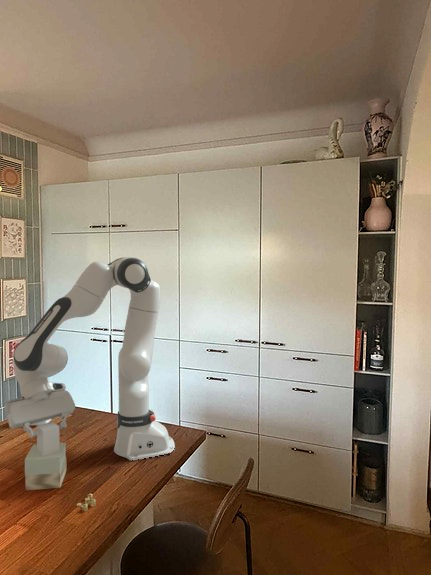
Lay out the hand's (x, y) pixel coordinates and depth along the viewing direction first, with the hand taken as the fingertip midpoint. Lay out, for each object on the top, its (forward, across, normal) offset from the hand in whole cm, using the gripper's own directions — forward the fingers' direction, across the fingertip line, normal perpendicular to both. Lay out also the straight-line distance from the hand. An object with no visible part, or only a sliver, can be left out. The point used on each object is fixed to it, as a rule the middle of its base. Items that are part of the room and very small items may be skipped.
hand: (49, 432), depth 124 cm
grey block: (+4, 0, +5) cm, 6 cm away
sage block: (+7, -1, +9) cm, 11 cm away
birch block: (+11, 0, +12) cm, 16 cm away
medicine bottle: (-22, +16, +45) cm, 53 cm away
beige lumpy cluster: (+26, +3, -2) cm, 26 cm away
